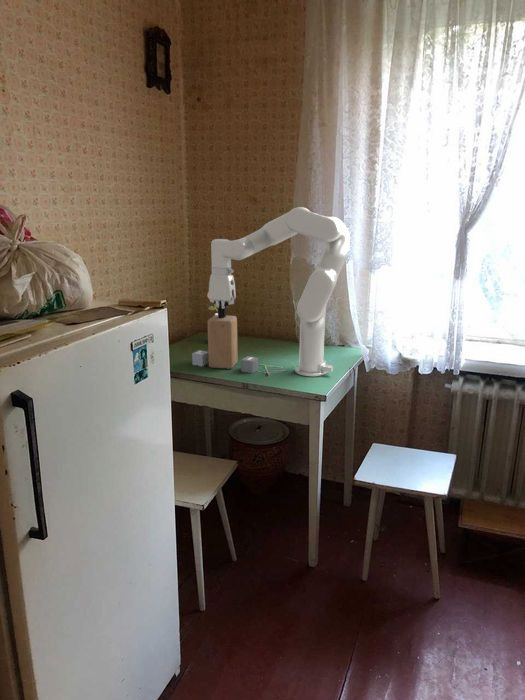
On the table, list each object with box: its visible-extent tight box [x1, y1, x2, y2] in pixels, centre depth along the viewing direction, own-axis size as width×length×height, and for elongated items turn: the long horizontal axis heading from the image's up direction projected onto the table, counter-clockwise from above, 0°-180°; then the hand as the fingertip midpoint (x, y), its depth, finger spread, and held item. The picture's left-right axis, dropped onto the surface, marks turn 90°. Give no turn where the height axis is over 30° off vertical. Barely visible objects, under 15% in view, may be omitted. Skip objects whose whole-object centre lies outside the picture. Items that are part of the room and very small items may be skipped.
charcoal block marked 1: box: [240, 355, 260, 374], centre depth 207 cm, size 5×5×5 cm
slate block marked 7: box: [191, 349, 209, 367], centre depth 215 cm, size 5×5×5 cm
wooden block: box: [207, 314, 239, 370], centre depth 211 cm, size 10×10×20 cm
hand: (222, 317), depth 209 cm, fingers closed
